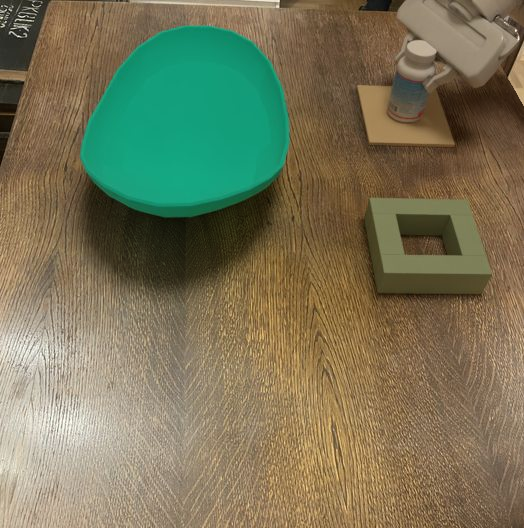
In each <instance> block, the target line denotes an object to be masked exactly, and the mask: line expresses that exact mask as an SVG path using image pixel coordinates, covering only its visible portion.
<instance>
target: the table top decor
mask: <svg viewBox="0 0 524 528" xmlns="http://www.w3.org/2000/svg"><path fill="white" fill-rule="evenodd" d="M85 127H86V128H85V130H84V133H83V137H82V141H81V146H80V151H79V159H80V161H81V164H82V166H83V168H84V170H85V173H86V174H87V175H88V177H89V178H90V180H91V182H93V184H95V185H96V186H97V187H98V188H99V189H100V190H101V191H102V192H103V193H105V195H107V196H108V197H110V198H112V199H113V200H116V201H118V202H119V203H121V204H123V205H125V206H126V207H129V208H130V209H132V210H135V211H139V212H141V213H145V214H149V215H153V216H157V217H161V218H192V217H197V216H200V215H205V214H208V213H212V212H216V211H219V210H222V209H225V208H228V207H231V206H233V205H236V204H239V203H242V202H244V201H246V200H248V199H249V198H251V197H254V196H256V195H258V194H259V193H261V192H262V191H264V190H266V189H267V188H268V187H269V186H270V185H271V184H272V183H274V181H275V180H276V179H278V178H279V177H280V175H281V173H282V170H283V168H284V166H285V162H286V159H287V154H288V150H289V147H290V144H291V143H290V142H291V141H290V138H291V137H290V117H289V112H288V107H287V102H286V96H285V91H284V87H283V85H282V83H281V81H280V79H279V76H278V75H277V72H276V69H275V68H274V65H273V63H272V61H271V60H270V59H269V58H268V57H267V56H266V54H265V53H264V51H263V52H262V50H261V49H260V47H258V45H256V43H255V42H254V41H252V40H251V39H250V38H247V37H245V36H244V35H242V34H239V33H238V32H236V31H234V30H232V29H227V28H222V27H218V26H213V25H188V24H187V25H186V24H185V25H182V26H177V27H174V28H170V29H166V30H161V31H160V32H158V33H156V34H155V35H153V36H151V37H150V38H148V39H147V40H146V41H144V42H142V43H141V44H139V45H138V46H137V47H136V48H135V49H134V50H132V52H131V53H130V55H129V56H127V58H126V59H125V60H124V61H123V62H122V64H121V65H120V66H119V67H118V68H117V69H116V70H115V73H114V74H113V76H112V78H111V80H110V82H109V83H108V85H107V87H106V88H105V91H104V92H103V95H102V96H101V98H100V100H99V101H98V103H97V105H96V107H95V108H94V110H93V112H92V113H91V116H90V117H89V119H88V120H87V124H86V126H85Z"/></svg>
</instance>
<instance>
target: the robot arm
mask: <svg viewBox="0 0 524 528" xmlns="http://www.w3.org/2000/svg"><path fill="white" fill-rule="evenodd" d="M507 17H509V18H510V19H511V20H513V21H514V22H515V23H517V24H518V25H519V26H520V27H522V28H523V29H524V0H404V1H403V3H402V4H401V5H400V7H399V8H398V9H397V12H396V16H395V19H396V21H397V23H398V24H399V26H400V27H401V28H402V30H403V31H404V32H405V33H407V34H406V36H404V39H403V42H402V45H401V49H400V51H399V52H398V53H397V54H396V56H395V57H394V59H393V62H394V63H395V64H396V66H397V65H398V62H399V61H400V59H401V58H403V57H404V56H405V51H406V47H407V44H408V43H409V42H411V41H415V40H422V41H426V42H427V43H428V44H429V45H431V46H432V47H433V48H434V49H436V50H437V52H436V56H435V58H437V59H438V60H439V61H440V62H441V63H443V64H444V66H443V67H442V71H441V72H439V73H438V74H435V76H434V77H433V78H432V77H431V76H430V75H428V76H427V78H426V79H425V80H424V81H423V82H422V84H421V85H422V87H423V88H424V89H425V90H426V91H427V92H428V93H432V92H433V91H434V90H435V89H436V90H437V89H438V87H439V86H442V85H445V84H447V83H450V82H453V80H454V79H455V78H457V76H458V77H459V78H461V79H462V80H463V81H464V82H465V83H467V85H469V86H470V87H471V88H472V89H477V88H481V87H483V86H484V85H486V83H487V82H489V80H490V79H491V78H492V76H493V75H494V74H495V73H496V72H497V71H498V69H499V68H500V67H501V65H502V64H503V63H504V61H505V60H506V58H508V57H509V56H510V55H511V54H512V53H514V51H515V50H516V49H517V48H518V46H519V45H520V39H521V37H520V30H519V29H518V28H517V27H516V26H514V25H512V24H511V23H509V21H507V19H506V18H507Z"/></svg>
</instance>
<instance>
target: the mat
mask: <svg viewBox="0 0 524 528" xmlns="http://www.w3.org/2000/svg"><path fill="white" fill-rule="evenodd" d="M391 89H392V85H364V84H363V85H362V84H357V85H356V90H357V91H356V92H357V95H358V100H359V105H360V110H361V115H362V118H363V119H362V120H363V125H364V129H365V133H366V138H367V139H366V140H367V144H368V146H381V147H382V146H383V147H386V146H387V147H419V148H421V147H423V148H424V147H426V148H427V147H428V148H455V146H456V143H455V140H454V137H453V135H452V132H451V129H450V125H449V123H448V120H447V117H446V114H445V111H444V108H443V104H442V102H441V99H440V96H439V94H438V91H437V88H436V89H435V90H434V91H433V92H432V93H429V96H428V99H427V103H426V106H425V110H424V113H423V116H422V117H421V118H420V119H419V120H418V121H415V122H400V121H397V120H395V119H393V118H392V117H391V116H390V115H389V114H388V112H387V106H388V102H389V97H390V93H391Z"/></svg>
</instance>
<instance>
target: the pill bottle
mask: <svg viewBox="0 0 524 528" xmlns="http://www.w3.org/2000/svg"><path fill="white" fill-rule="evenodd" d="M436 52H437V50H436V49H434V48H433V47H432V46H431V45H429V44H428V43H427V42H426V41H422V40H415V41H411V42H409V43H408V44H407V47H406V51H405V56H404V57H403V58H401V59H400V61H399V62H398V65H397V64H396V69H395V73H394V77H393V82H392V85H391V86H392V89H391V93H390V97H389V102H388V106H387V112H388V114H389V115H390V116H391V117H392V118H393V119H395V120H397V121H400V122H415V121H418V120H419V119H420V118H421V117H422V116H423V113H424V110H425V106H426V103H427V99H428V96H429V93H428V92H427V91H426V90H425V89H424V88H423V87H422V85H421V84H422V82H423V81H424V80H425V79H426V78H427V76H428V75H430V76H431V77H432V78H433V77H434V76H436V71H437V68H436V64H435V62H434V61H435V59H436Z"/></svg>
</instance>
